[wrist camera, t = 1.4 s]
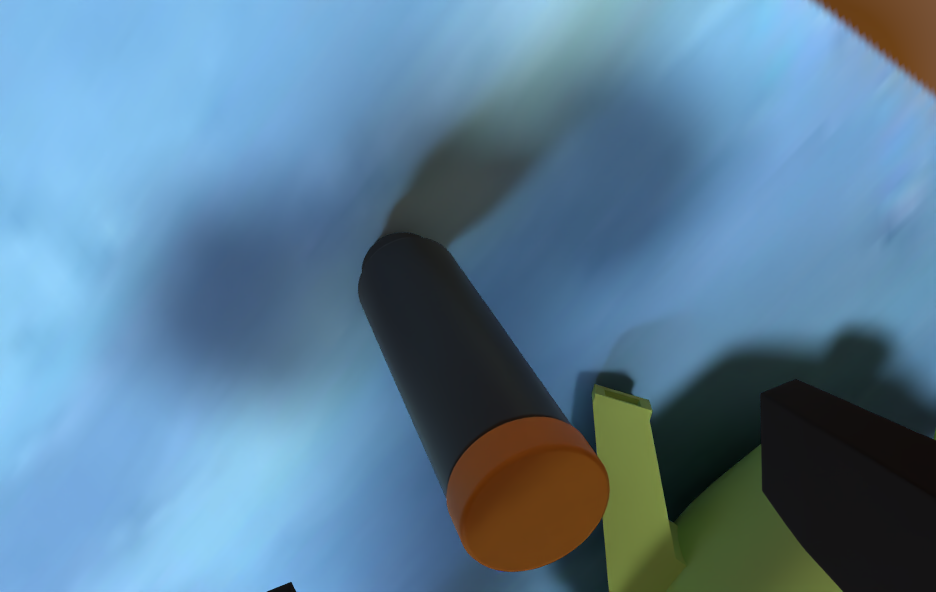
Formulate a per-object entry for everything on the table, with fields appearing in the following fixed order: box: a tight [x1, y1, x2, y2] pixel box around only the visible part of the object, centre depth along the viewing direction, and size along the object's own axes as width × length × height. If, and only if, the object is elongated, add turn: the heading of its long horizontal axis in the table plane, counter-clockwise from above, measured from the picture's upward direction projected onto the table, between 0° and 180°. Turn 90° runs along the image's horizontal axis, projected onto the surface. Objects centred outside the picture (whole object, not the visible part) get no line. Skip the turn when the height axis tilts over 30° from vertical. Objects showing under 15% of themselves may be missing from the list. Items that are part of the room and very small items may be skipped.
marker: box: [358, 232, 610, 572], centre depth 16 cm, size 2×2×9 cm
